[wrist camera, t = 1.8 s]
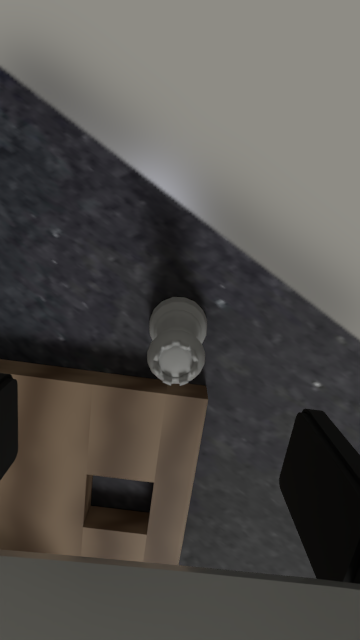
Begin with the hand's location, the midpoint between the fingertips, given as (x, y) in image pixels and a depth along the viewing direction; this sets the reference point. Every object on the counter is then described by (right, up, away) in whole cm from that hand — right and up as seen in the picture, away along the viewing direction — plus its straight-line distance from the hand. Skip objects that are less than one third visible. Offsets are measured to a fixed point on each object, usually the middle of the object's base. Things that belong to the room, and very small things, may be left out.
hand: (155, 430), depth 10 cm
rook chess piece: (+1, +3, +14) cm, 14 cm away
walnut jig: (-7, -9, +17) cm, 21 cm away
